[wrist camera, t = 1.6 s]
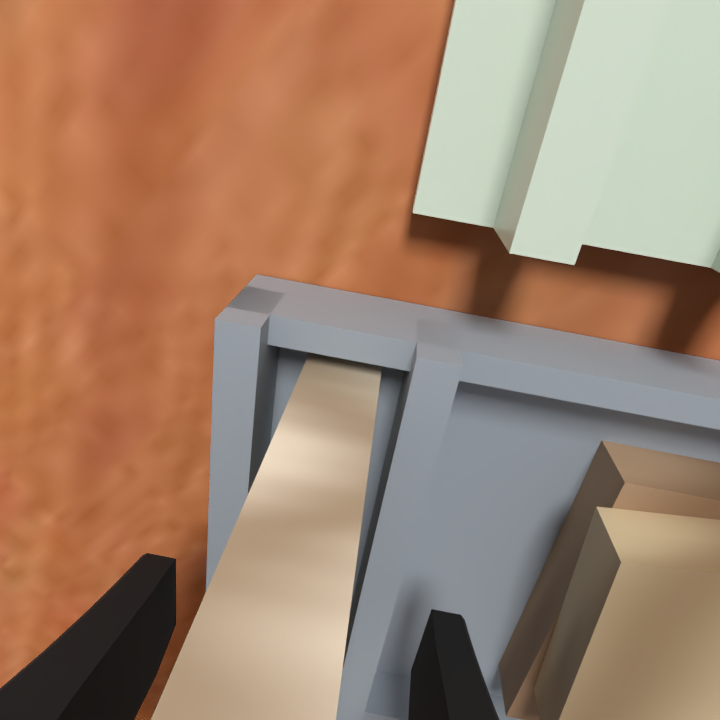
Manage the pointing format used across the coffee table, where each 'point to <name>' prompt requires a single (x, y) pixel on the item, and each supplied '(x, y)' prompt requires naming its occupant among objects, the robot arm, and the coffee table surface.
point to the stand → (580, 127)
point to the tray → (444, 455)
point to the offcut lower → (599, 489)
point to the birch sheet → (286, 564)
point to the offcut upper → (638, 623)
